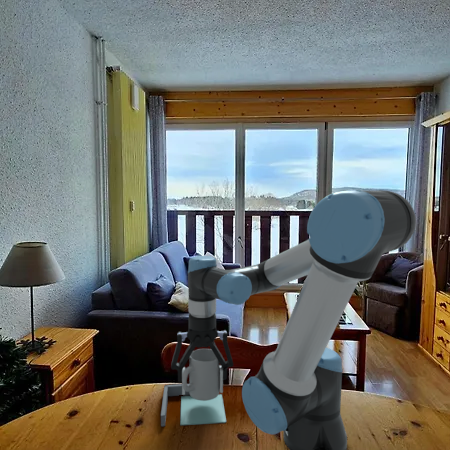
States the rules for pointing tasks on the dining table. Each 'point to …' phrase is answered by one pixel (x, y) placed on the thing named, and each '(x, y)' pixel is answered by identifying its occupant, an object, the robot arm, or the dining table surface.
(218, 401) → the mat
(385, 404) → the dining table surface
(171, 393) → the gray corner wall
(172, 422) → the dining table surface
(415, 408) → the dining table surface
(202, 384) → the mug
